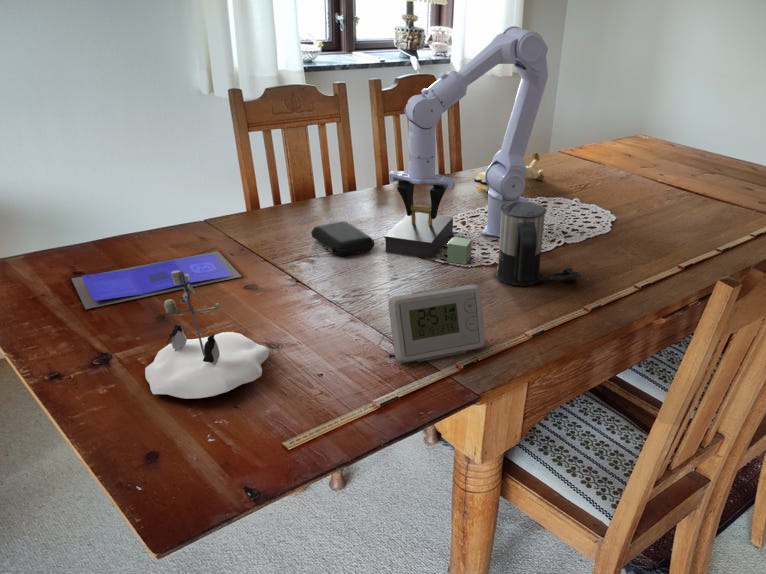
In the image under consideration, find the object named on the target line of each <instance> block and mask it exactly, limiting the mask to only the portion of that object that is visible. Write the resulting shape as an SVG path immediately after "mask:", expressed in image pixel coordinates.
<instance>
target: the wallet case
mask: <svg viewBox="0 0 766 574" xmlns="http://www.w3.org/2000/svg"><path fill="white" fill-rule="evenodd" d="M453 230H454V219H453V220H452V221H451V222H450V223H449V224H448V226H447V227H446V228H445V229H444V230H443V231H442V233H441V234H440V235H439V236H438V237H437V239H436V240H435V241H434V242H433V243H432V244H431V245H428V244H421V243H414V242H407V241H400V240H393V239H386V238H384V239H385V240H384V241H385V253H390V254H395V255H396V254H397V255H404V256H410V257H418V258H423V259H424V258H425V259H431V260H432V259H433V258H434V257H435V256H436V254H437V253H438V252H439V251H440V249H441V248H442V247H443V246H444V245H445V244H446V242H447V241H448V240H449V239H450V237H451V236H452V234H453Z"/></svg>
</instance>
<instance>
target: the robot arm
mask: <svg viewBox="0 0 766 574" xmlns="http://www.w3.org/2000/svg"><path fill="white" fill-rule="evenodd" d="M548 50H549V47H548V45H547V43H546V41H545V40H544V38H543V37H542V35H541V34H540V33H539V32H538V31H537V32H536V31H533V30H528V29H523V28H521V27H520V26H515V25H513V26H509V27H507V28H506V29H504V31H503V32H502V33H499V34H497V35H496V36H495V37H494V38H493V39H492V41H491V42H489V44H488V45H486V46H485V47H484V48H483V49H482V50H481V51H480V52H478V53H477V54H476V55H475V56H474V57H473V58H472V59H470V61H468V62H467V63H465V65H464V66H463V67H461V68H460V70H458V71H451V70H449V71H447V72H445V71H443V72H441V73H440V74H438V77H439V79H437V80H436V81H434V82H433V83H432V84H431V85H430V86H429V87H428V88H425V87H424V88H423V89H422V90H421V91H420V92H421V94H415V95H413V96H411V97H409V99H408V101H407V104H405V107H404V108H403V111H404V116H405V117H406V119H407V120H408V171H407V170H391V171H390V172H389V173H388V182H390V183H395V182H398V184H397V186H396V189H397V192H398V194H399V195H400V197H401V199H402V201H403V204H404V207H405V212H406V215H407V216H411V215H412V211H411V210H410V208H411V205H414V191H415V185H422V186H430V187H431V188H430V189H429V196H430V207H431V219H435V218H436V217H437V215H438V210H439V207H440V205H441V202H442V199H443V197H444V194H445V192H446V190H447V189H448V190H454V188H456V178H454V177H449V176H445V175H441V174H438V173H436V140H437V139H436V138H437V137H436V126H437V125H438V123H439V122H440V120H441V116H442V115H443V113H445V112H447V111H448V110H450V108H451V107H453V106H454V105H455V104H457V102H460V100H461V99H463V98H464V97H465V96H466V95H467V90H468V87H469V86H470V85H471V84H473V83H474V82H475V81H477V80H478V79H479V78H481V77H483V76H484V75H485V74H486V73H488V72H489V71H491V70H492V69H493V68H495V67H497V66H498V65H514V67H515V69H516V71H517V73H518V74H519V76H520V81H519V85H518V88H517V93H516V96H515V100H514V103H513V107H512V111H511V113H510V117H509V120H508V123H507V127H506V131H505V135H504V137H503V140H502V145H501V148H500V150H499V151H497V152H496V154H494V156H493V158H492V161H491V163H490V164H489V165H488V167H487V168H486V170H485V172H486V173H485V180H486V183H487V184H488V185H489V191H488V194H487V195H488V196H487V214H486V216H487V217H486V226H485V227H484V229H483V230H482V231H481V235H483V236H489V237H498V238H500V227H501V212H502V211H501V209H500V207H501V206H502V205H503V204H505V203H508V202H529V198H528V197H524V196H522V194H523V193H524V191H525V189H526V178H525V173H526V166H527V165H526V161H525V158H524V157H525V154H526V151H527V148H528V145H529V142H530V138H531V134H532V131H533V128H534V124H535V121H536V118H537V115H538V111H539V109H540V105H541V101H542V98H543V95H544V92H545V88H546V85H547V82H548V78H549V71H548V61H547V54H548Z"/></svg>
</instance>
